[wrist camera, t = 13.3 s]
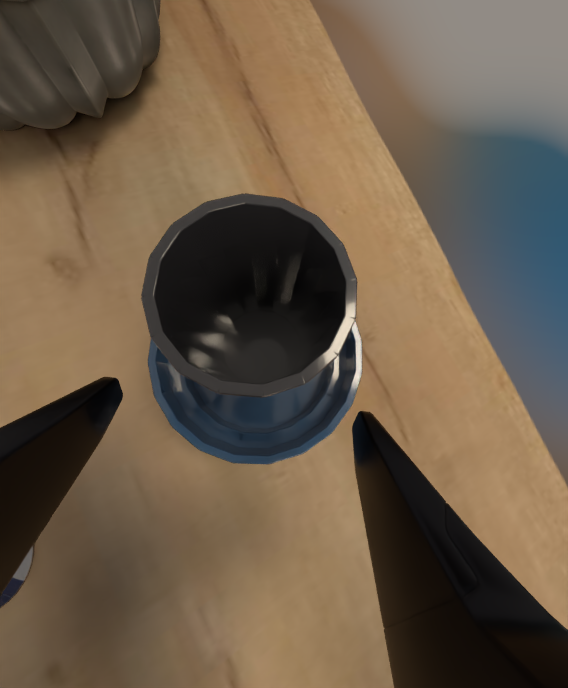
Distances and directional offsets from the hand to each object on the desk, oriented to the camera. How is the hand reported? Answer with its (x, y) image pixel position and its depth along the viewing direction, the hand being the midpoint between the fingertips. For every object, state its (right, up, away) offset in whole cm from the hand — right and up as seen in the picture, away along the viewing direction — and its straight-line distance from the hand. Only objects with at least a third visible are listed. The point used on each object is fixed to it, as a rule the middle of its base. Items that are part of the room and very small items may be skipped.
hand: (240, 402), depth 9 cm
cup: (0, +2, +11) cm, 11 cm away
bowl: (0, +1, +11) cm, 11 cm away
